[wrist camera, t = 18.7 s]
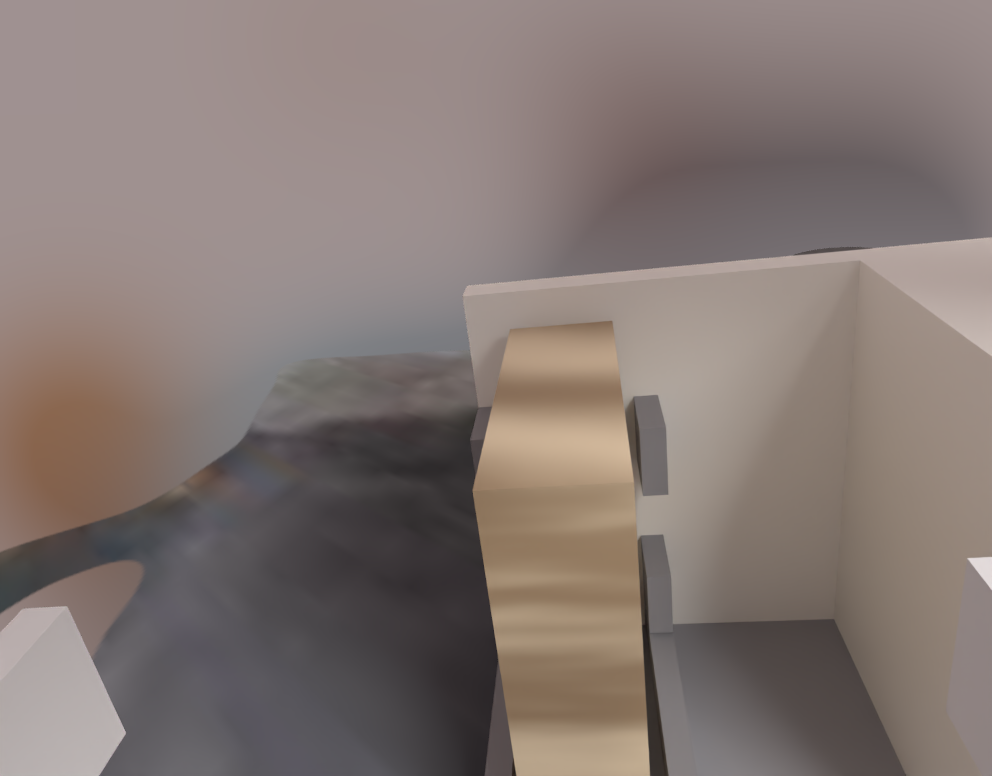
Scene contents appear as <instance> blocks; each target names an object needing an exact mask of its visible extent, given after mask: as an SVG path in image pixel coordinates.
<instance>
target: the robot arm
mask: <svg viewBox="0 0 992 776" xmlns="http://www.w3.org/2000/svg"><path fill="white" fill-rule="evenodd" d="M946 712H947V714H948V716H949V717H950V719H951V721H952V723H953V724H954V726H955V728H956V730H957V732H958V733H959V735H960V737H961V739H962V741H963V742H964V744H965V746H966V748H967V749H968V751H969V753H970V755H971V757H972V758H973V760H974V762H975V764H976V766H977V767H978V769H979V771H980V773H981V774H982V776H992V557H980V558H967V563H966V570H965V577H964V584H963V591H962V599H961V606H960V613H959V620H958V627H957V634H956V641H955V648H954V655H953V662H952V669H951V676H950V683H949V690H948V697H947V704H946ZM125 734H126V732H125V730H124V728H123V725H122V723H121V721H120V719H119V717H118V715H117V713H116V710H115V708H114V706H113V704H112V702H111V700H110V697H109V695H108V693H107V691H106V689H105V687H104V685H103V682H102V680H101V678H100V676H99V674H98V672H97V669H96V667H95V665H94V663H93V661H92V659H91V657H90V654H89V652H88V650H87V648H86V646H85V644H84V642H83V639H82V637H81V635H80V633H79V631H78V628H77V626H76V624H75V622H74V620H73V618H72V616H71V614H70V611H69V609H68V607H67V606H63V607H44V608H24V609H22V610H21V611H20V612H19V613H18V614H17V615H16V616H15V617H14V619H13V620H12V621H11V622H10V623H9V624H8V625H7V626H6V627H5V628H4V629H3V630H2V631H1V632H0V776H99V775H100V773H101V772H102V770H103V769H104V767H105V765H106V764H107V762H108V761H109V759H110V758H111V756H112V755H113V753H114V751H115V750H116V748H117V747H118V745H119V744H120V742H121V740H122V739H123V737H124V736H125Z"/></svg>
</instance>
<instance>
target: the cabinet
mask: <svg viewBox="0 0 992 776" xmlns="http://www.w3.org/2000/svg"><path fill="white" fill-rule="evenodd" d="M463 302H464V310H465V316H466V323H467V331H468V338H469V344H470V352H471V359H472V366H473V373H474V380H475V387H476V394H477V401H478V411H477V415H476V419H475V423H474V427H473V431H472V435H471V439H470V443H471V450H472V456H473V463H474V469H475V476H476V474H477V470H478V465H479V461H480V457H481V452H482V448H483V444H484V439H485V435H486V431H487V426H488V422H489V418H490V414H491V409H492V405H493V401H494V396H495V392H496V388H497V383H498V379H499V375H500V371H501V366H502V362H503V358H504V353H505V349H506V345H507V340H508V336H509V332H510V329H518V328H530V327H542V326H554V325H567V324H579V323H591V322H603V321H612V322H613V329H614V337H615V344H616V352H617V359H618V367H619V374H620V381H621V389H622V396H623V404H624V411H625V418H626V426H627V433H628V441H629V448H630V456H631V463H632V470H633V478H634V490H635V508H636V526H637V545H638V563H639V581H640V600H641V618H642V637H643V655H644V673H645V692H646V710H647V728H648V747H649V765H650V776H982V774H981V773H980V771H979V769H978V767H977V766H976V764H975V762H974V760H973V758H972V757H971V755H970V753H969V751H968V749H967V748H966V746H965V744H964V742H963V741H962V739H961V737H960V735H959V733H958V732H957V730H956V728H955V726H954V724H953V723H952V721H951V719H950V717H949V716H948V714H947V712H946V704H947V697H948V690H949V683H950V676H951V669H952V662H953V655H954V648H955V641H956V634H957V627H958V620H959V613H960V606H961V599H962V591H963V584H964V577H965V570H966V563H967V558H980V557H992V237H991V238H980V239H969V240H958V241H947V242H937V243H926V244H915V245H904V246H893V247H882V248H871V249H861V250H850V251H839V252H828V253H817V254H806V255H795V256H785V257H774V258H763V259H752V260H742V261H730V262H720V263H709V264H698V265H688V266H677V267H665V268H655V269H644V270H633V271H622V272H611V273H600V274H590V275H579V276H568V277H557V278H546V279H535V280H524V281H514V282H502V283H492V284H481V285H470V286H467V287H466V290H465V292H464V294H463ZM485 776H516V770H515V763H514V757H513V750H512V744H511V737H510V731H509V724H508V718H507V711H506V705H505V698H504V692H503V685H502V679H501V672H500V666H499V659H498V666H497V674H496V683H495V691H494V700H493V708H492V717H491V725H490V733H489V742H488V750H487V759H486V767H485Z"/></svg>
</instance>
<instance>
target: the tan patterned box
mask: <svg viewBox="0 0 992 776" xmlns="http://www.w3.org/2000/svg"><path fill="white" fill-rule="evenodd" d="M473 497H474V503H475V510H476V516H477V523H478V529H479V536H480V542H481V549H482V555H483V562H484V568H485V575H486V581H487V588H488V594H489V601H490V607H491V614H492V620H493V627H494V633H495V640H496V646H497V653H498V659H499V666H500V672H501V679H502V685H503V692H504V698H505V705H506V711H507V718H508V724H509V731H510V737H511V744H512V750H513V757H514V763H515V770H516V776H650V765H649V747H648V728H647V710H646V692H645V673H644V655H643V637H642V618H641V600H640V581H639V563H638V545H637V526H636V508H635V490H634V478H633V470H632V463H631V456H630V448H629V441H628V433H627V426H626V418H625V411H624V404H623V396H622V389H621V381H620V374H619V367H618V359H617V352H616V344H615V337H614V329H613V322H612V321H603V322H591V323H579V324H567V325H554V326H542V327H530V328H518V329H510V332H509V336H508V340H507V345H506V349H505V353H504V358H503V362H502V366H501V371H500V375H499V379H498V383H497V388H496V392H495V396H494V401H493V405H492V409H491V414H490V418H489V422H488V426H487V431H486V435H485V439H484V444H483V448H482V452H481V457H480V461H479V465H478V470H477V474H476V478H475V482H474V487H473Z"/></svg>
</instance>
